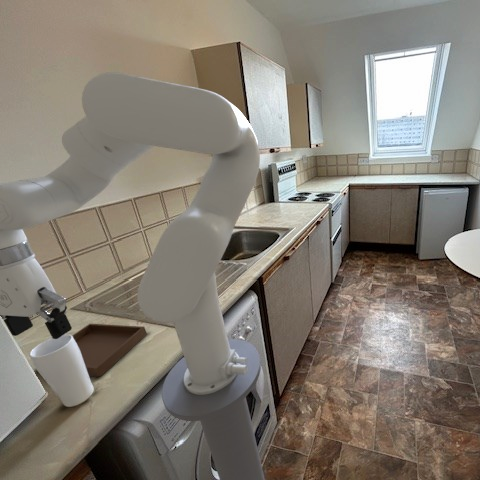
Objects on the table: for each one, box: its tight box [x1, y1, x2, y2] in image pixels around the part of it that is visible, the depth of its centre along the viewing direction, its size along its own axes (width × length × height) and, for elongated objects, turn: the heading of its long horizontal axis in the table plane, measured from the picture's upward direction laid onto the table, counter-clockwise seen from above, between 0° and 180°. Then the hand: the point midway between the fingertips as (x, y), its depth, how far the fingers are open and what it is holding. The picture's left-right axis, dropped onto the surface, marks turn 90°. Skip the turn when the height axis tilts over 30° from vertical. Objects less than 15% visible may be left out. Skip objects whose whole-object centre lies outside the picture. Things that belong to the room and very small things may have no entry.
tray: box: [36, 323, 148, 378], centre depth 73 cm, size 19×15×3 cm
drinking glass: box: [29, 333, 95, 408], centre depth 57 cm, size 7×7×15 cm
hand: (43, 332), depth 53 cm, fingers open, 9 cm apart
